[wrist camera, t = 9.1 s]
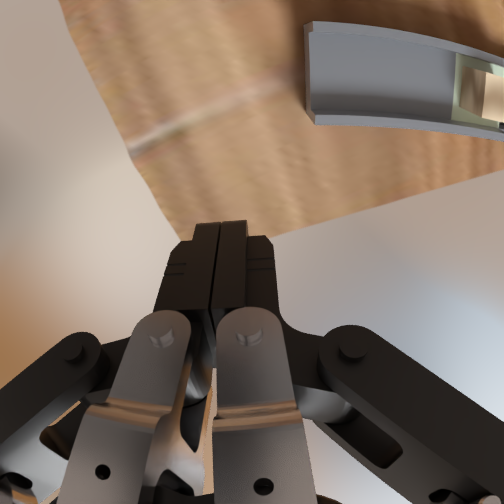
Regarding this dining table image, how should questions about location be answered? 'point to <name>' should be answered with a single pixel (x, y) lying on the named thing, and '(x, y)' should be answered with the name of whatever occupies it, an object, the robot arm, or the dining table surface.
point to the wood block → (482, 94)
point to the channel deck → (392, 79)
